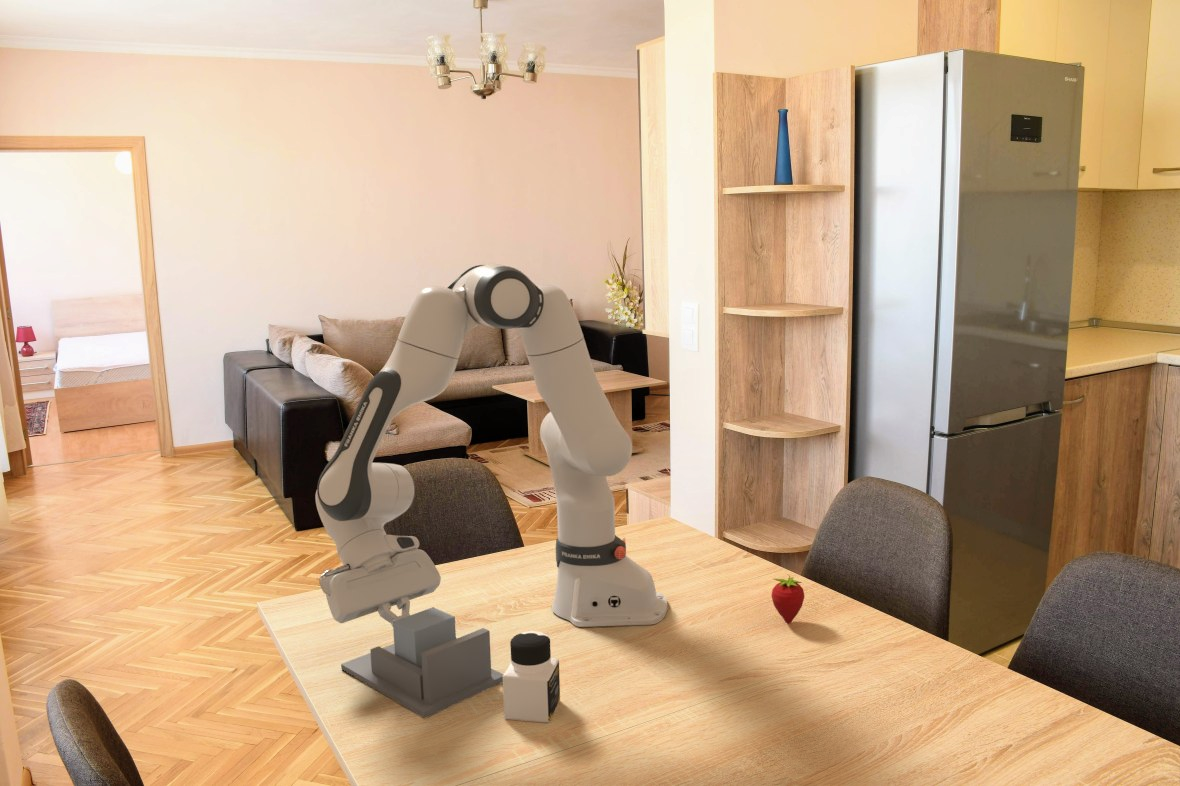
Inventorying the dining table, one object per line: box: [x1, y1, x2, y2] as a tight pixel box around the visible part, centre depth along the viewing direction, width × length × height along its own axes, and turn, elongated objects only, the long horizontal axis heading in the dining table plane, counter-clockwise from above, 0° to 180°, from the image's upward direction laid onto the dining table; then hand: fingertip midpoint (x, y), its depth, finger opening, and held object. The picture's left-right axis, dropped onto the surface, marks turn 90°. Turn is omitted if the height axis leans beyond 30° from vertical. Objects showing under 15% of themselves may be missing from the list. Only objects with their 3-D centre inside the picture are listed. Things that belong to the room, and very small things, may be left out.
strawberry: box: [771, 575, 805, 624], centre depth 170 cm, size 6×8×10 cm
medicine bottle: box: [502, 630, 561, 724], centre depth 140 cm, size 7×7×12 cm
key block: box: [392, 606, 457, 669], centre depth 151 cm, size 6×8×9 cm
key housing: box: [340, 627, 504, 719], centre depth 152 cm, size 24×16×9 cm, turn 46°
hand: (404, 626), depth 155 cm, fingers closed
